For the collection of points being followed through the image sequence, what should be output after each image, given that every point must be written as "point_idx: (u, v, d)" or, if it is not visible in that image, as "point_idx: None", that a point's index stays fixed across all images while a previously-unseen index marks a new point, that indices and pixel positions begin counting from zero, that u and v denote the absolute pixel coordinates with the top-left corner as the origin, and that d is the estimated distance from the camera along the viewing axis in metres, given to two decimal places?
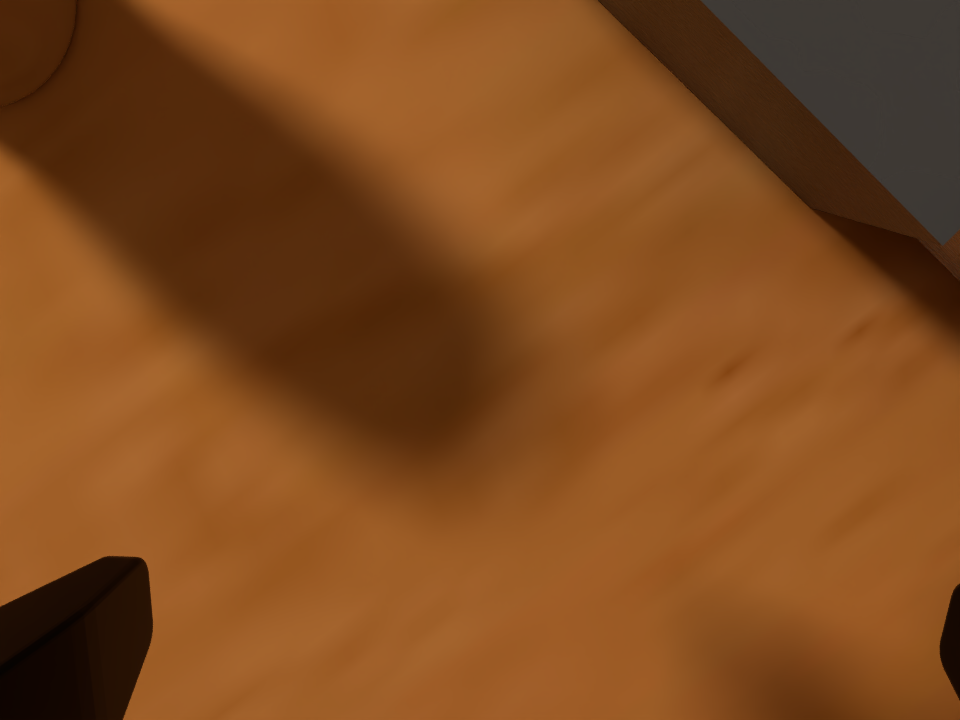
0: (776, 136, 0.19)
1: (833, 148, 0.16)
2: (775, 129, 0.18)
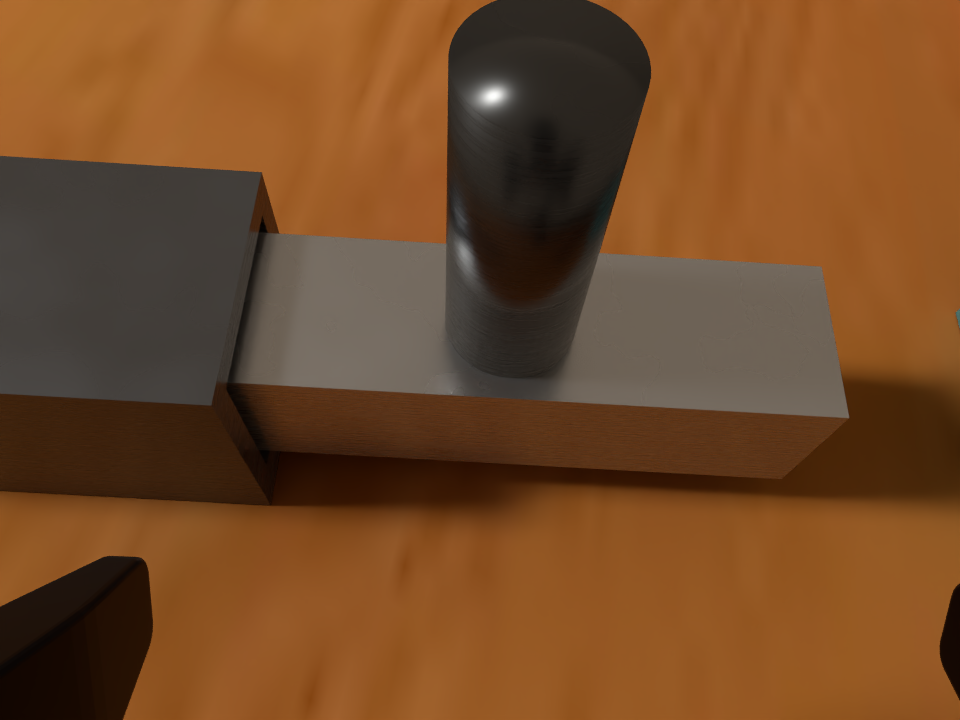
0: (117, 457, 0.19)
1: (79, 410, 0.17)
2: (98, 450, 0.19)
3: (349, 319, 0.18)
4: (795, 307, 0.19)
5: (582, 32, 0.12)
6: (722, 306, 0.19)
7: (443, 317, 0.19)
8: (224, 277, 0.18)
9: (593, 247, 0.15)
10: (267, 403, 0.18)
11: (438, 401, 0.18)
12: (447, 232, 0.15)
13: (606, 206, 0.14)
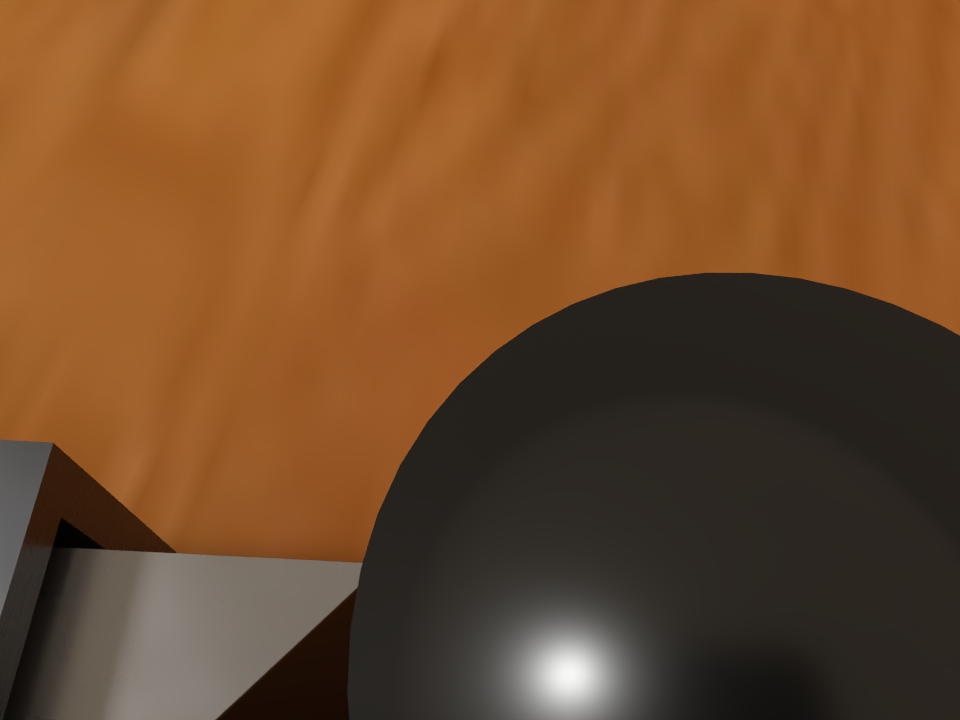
0: None
1: None
2: None
3: None
4: None
5: (910, 470, 0.03)
6: None
7: None
8: None
9: None
10: None
11: None
12: None
13: None
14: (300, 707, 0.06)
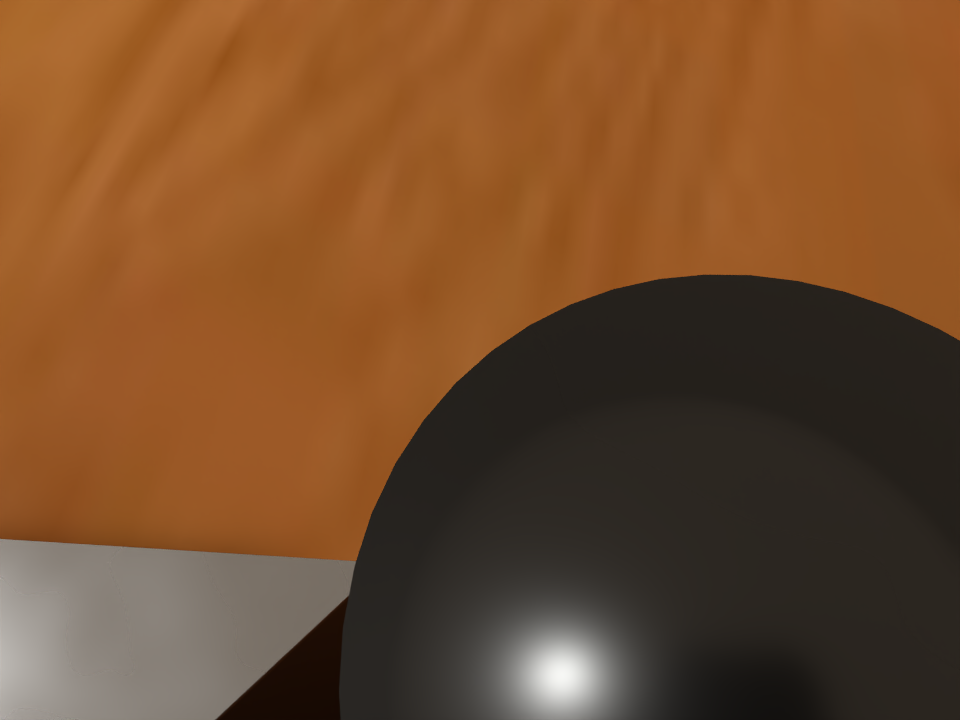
0: None
1: None
2: None
3: None
4: None
5: (906, 475, 0.03)
6: None
7: None
8: None
9: None
10: None
11: None
12: None
13: None
14: (300, 707, 0.06)
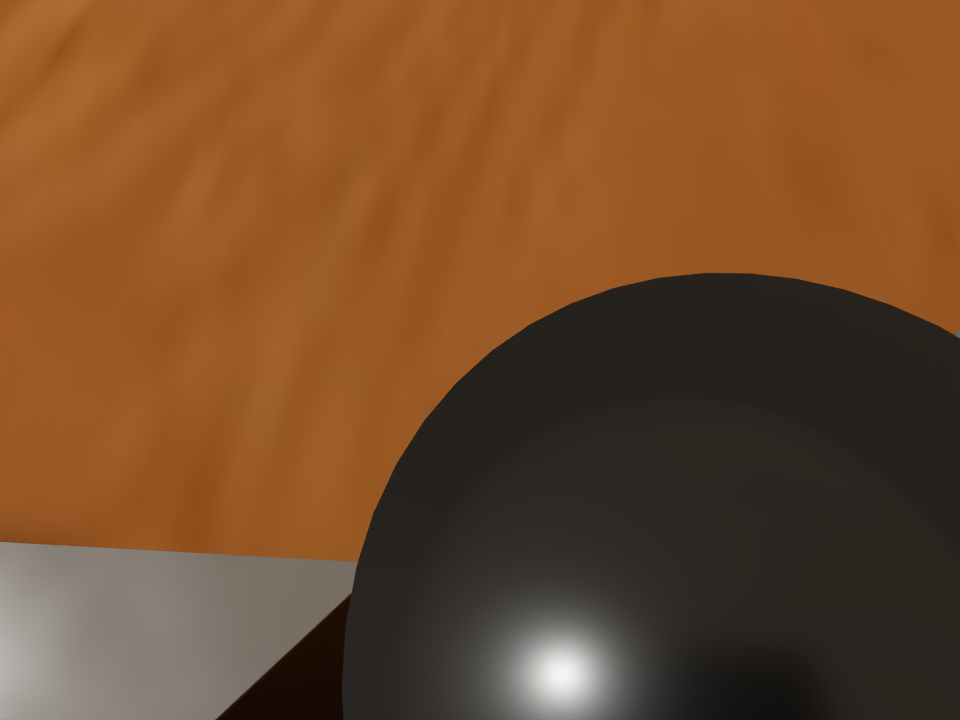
0: None
1: None
2: None
3: None
4: None
5: (907, 471, 0.03)
6: None
7: None
8: None
9: None
10: None
11: None
12: None
13: None
14: (300, 707, 0.06)
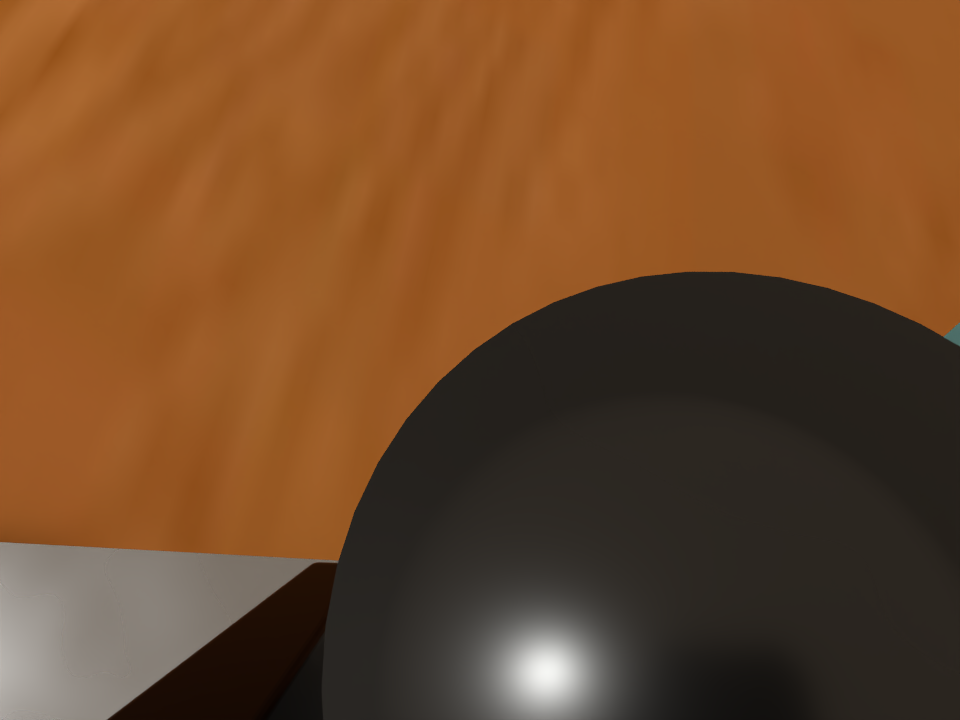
0: None
1: None
2: None
3: None
4: None
5: (888, 469, 0.03)
6: None
7: None
8: None
9: None
10: None
11: None
12: None
13: None
14: (197, 704, 0.06)
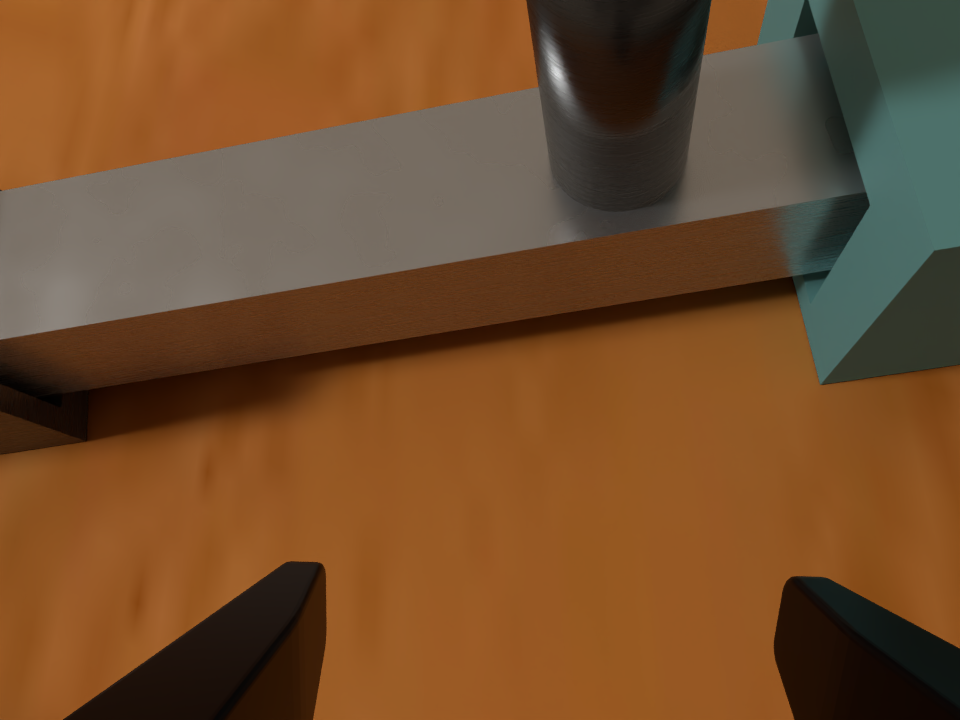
0: None
1: None
2: None
3: (454, 189, 0.18)
4: None
5: None
6: None
7: (548, 165, 0.18)
8: None
9: (698, 44, 0.13)
10: (395, 291, 0.19)
11: (562, 251, 0.18)
12: (538, 70, 0.14)
13: None
14: (156, 703, 0.06)
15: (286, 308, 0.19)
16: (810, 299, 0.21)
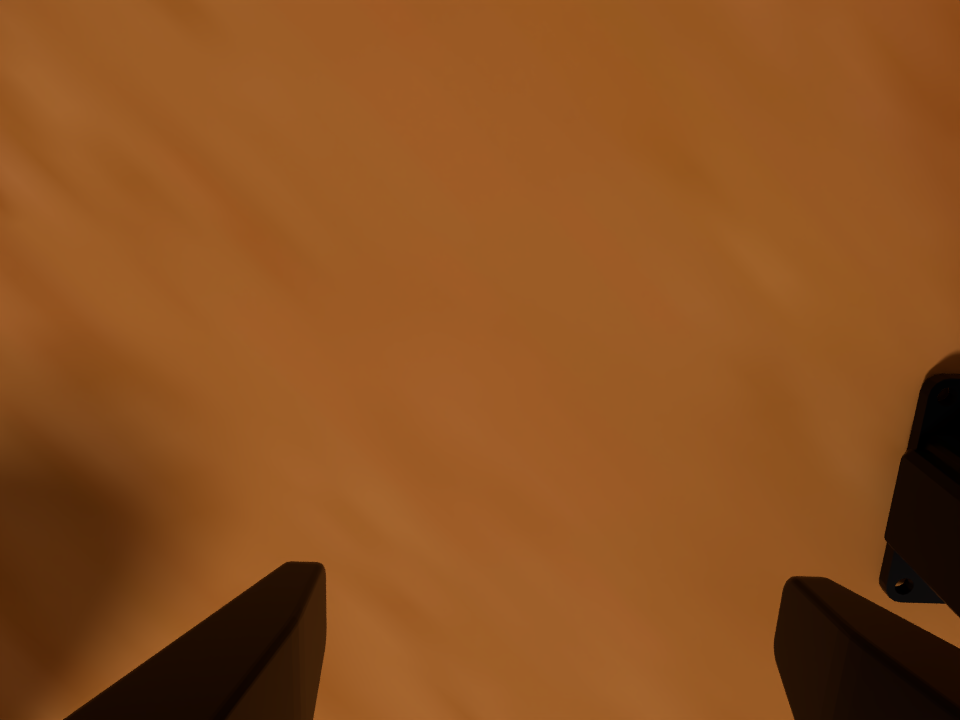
0: None
1: None
2: None
3: None
4: None
5: None
6: None
7: None
8: None
9: None
10: None
11: None
12: None
13: None
14: (157, 704, 0.06)
15: None
16: None
